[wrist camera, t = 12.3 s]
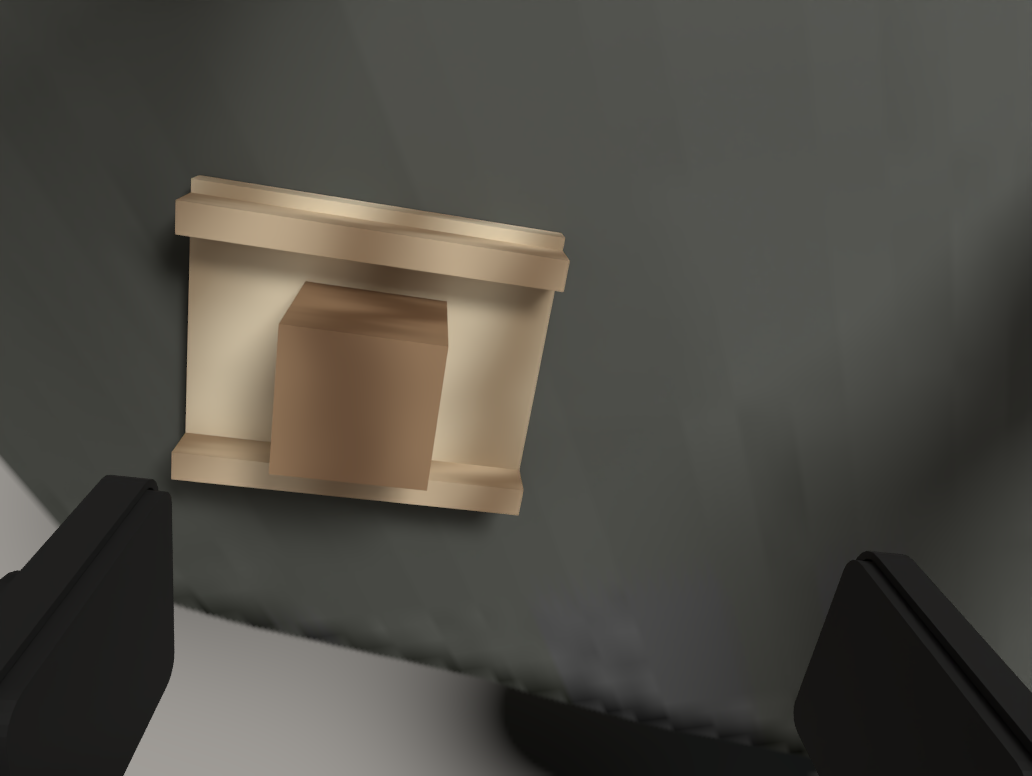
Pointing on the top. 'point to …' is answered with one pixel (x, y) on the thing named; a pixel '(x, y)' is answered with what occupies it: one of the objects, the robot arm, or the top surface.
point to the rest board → (370, 266)
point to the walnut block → (358, 386)
